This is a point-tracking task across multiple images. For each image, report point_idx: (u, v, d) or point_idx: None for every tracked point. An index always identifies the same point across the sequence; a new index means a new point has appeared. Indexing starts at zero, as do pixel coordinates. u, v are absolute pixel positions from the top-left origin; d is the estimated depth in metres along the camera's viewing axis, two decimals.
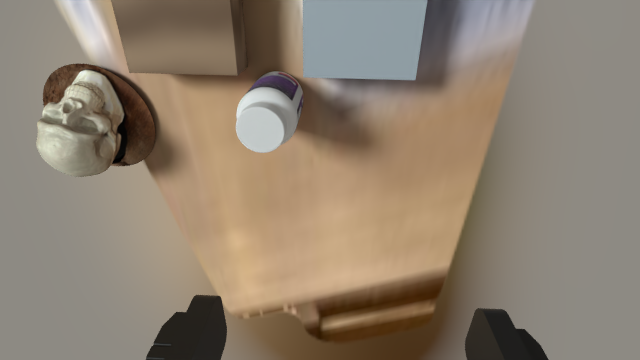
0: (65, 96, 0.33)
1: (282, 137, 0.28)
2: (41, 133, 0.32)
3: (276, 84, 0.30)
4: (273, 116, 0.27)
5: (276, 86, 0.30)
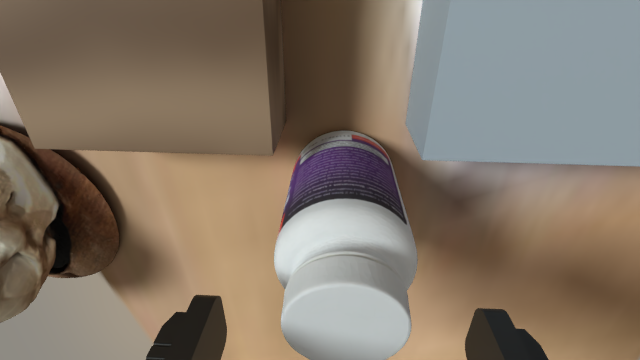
0: None
1: (402, 343, 0.11)
2: None
3: (366, 181, 0.13)
4: (387, 303, 0.10)
5: (368, 189, 0.12)
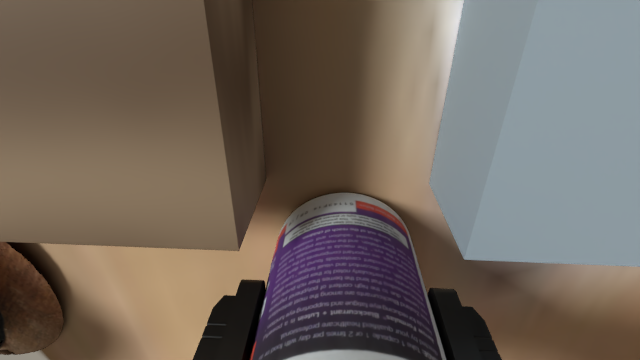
0: None
1: None
2: None
3: (380, 301, 0.08)
4: None
5: (385, 321, 0.08)
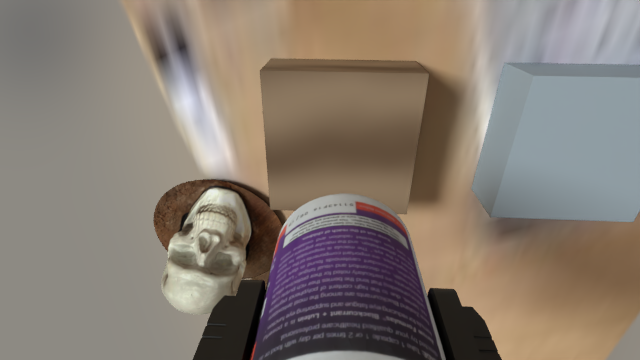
0: (197, 226, 0.27)
1: None
2: (174, 280, 0.25)
3: (380, 302, 0.08)
4: None
5: (384, 322, 0.08)
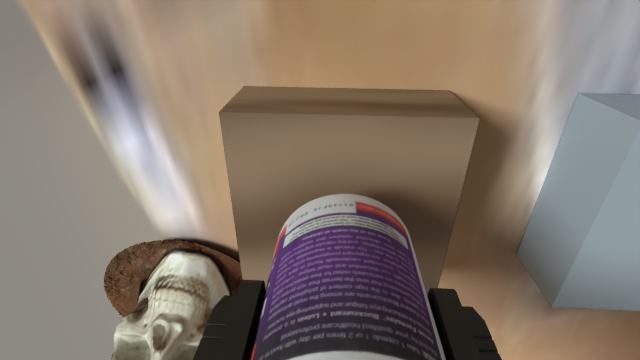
0: (152, 309, 0.20)
1: None
2: None
3: (380, 302, 0.08)
4: None
5: (385, 322, 0.08)
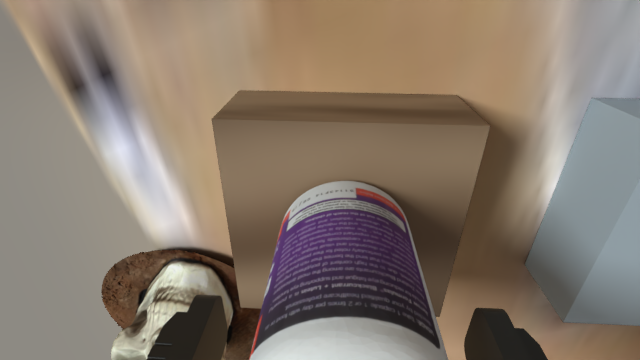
0: (151, 323, 0.19)
1: None
2: None
3: (378, 276, 0.09)
4: None
5: (382, 293, 0.08)
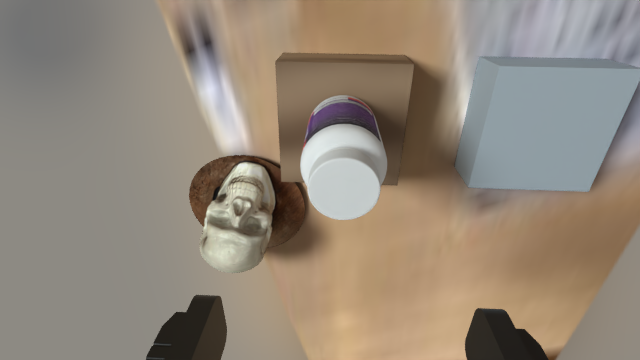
0: (231, 194, 0.31)
1: (375, 200, 0.19)
2: (213, 239, 0.29)
3: (356, 117, 0.21)
4: (366, 170, 0.18)
5: (357, 121, 0.21)
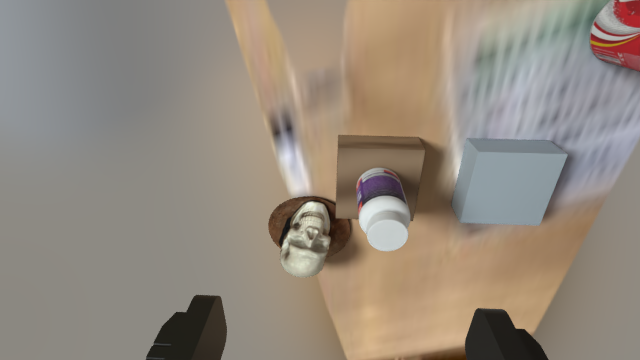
0: (304, 224, 0.46)
1: (405, 240, 0.34)
2: (295, 255, 0.44)
3: (392, 189, 0.36)
4: (400, 226, 0.33)
5: (393, 192, 0.36)
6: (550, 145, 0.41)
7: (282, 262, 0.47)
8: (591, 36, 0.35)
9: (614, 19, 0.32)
